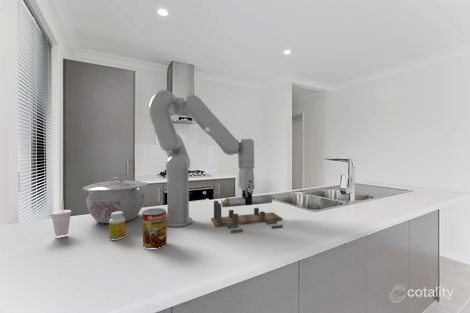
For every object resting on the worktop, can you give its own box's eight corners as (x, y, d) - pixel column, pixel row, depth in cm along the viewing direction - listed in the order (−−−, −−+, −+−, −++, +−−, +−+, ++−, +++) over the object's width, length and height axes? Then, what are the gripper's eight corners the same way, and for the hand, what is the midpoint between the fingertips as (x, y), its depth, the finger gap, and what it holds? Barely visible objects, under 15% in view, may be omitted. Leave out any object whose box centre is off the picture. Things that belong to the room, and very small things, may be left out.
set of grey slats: (231, 233, 90) (231, 230, 90) (227, 228, 95) (227, 226, 95) (282, 227, 96) (282, 225, 96) (276, 223, 102) (276, 221, 102)
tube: (223, 207, 101) (223, 198, 101) (221, 207, 105) (221, 198, 105) (272, 203, 108) (271, 194, 108) (268, 202, 111) (268, 194, 112)
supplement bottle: (109, 242, 82) (108, 215, 81) (109, 237, 86) (109, 211, 86) (125, 239, 84) (125, 213, 84) (125, 234, 89) (124, 210, 89)
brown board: (215, 227, 97) (215, 205, 97) (211, 220, 107) (211, 200, 106) (282, 220, 106) (282, 200, 106) (272, 214, 116) (272, 196, 116)
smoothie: (75, 234, 89) (75, 199, 89) (58, 240, 83) (57, 203, 83) (64, 232, 91) (63, 198, 91) (47, 238, 85) (46, 201, 85)
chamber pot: (88, 216, 115) (87, 175, 115) (146, 209, 127) (145, 173, 126) (76, 234, 90) (75, 182, 89) (150, 224, 101) (149, 178, 101)
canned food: (152, 251, 73) (152, 215, 73) (137, 246, 78) (137, 212, 77) (171, 243, 80) (170, 210, 80) (156, 239, 84) (156, 207, 84)
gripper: (233, 164, 113) (234, 200, 113) (244, 166, 97) (245, 208, 97) (247, 164, 115) (248, 199, 115) (260, 165, 99) (261, 207, 99)
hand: (247, 203), depth 106 cm, fingers closed on tube, 4 cm apart
